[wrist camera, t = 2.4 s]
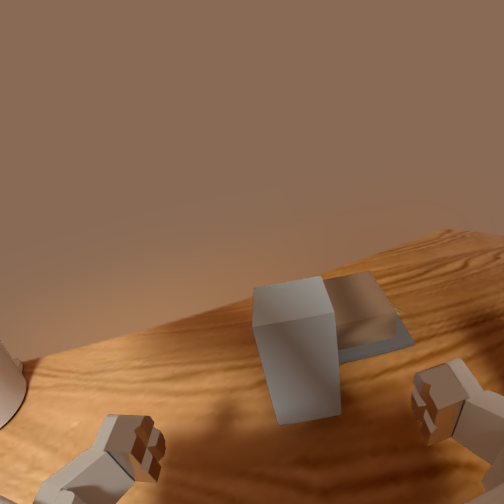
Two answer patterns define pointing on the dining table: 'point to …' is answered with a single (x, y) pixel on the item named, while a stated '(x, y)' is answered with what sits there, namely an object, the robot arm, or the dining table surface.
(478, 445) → the robot arm
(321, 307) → the pillar
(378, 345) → the build pad
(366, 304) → the base slab
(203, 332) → the dining table surface
